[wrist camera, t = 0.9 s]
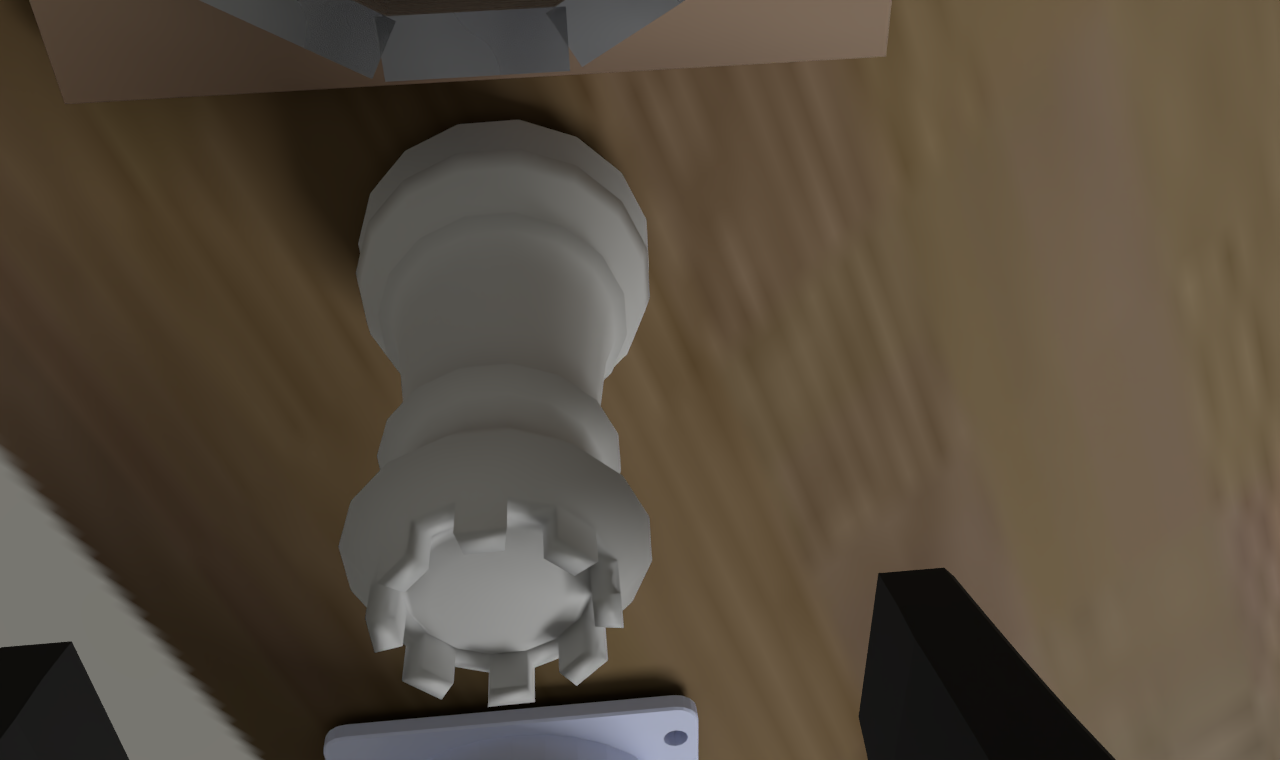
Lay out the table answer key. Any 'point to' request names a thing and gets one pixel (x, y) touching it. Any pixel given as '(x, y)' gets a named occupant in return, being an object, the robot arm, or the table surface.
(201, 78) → the socket board
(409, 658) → the rook chess piece
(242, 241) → the table surface
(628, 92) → the table surface
